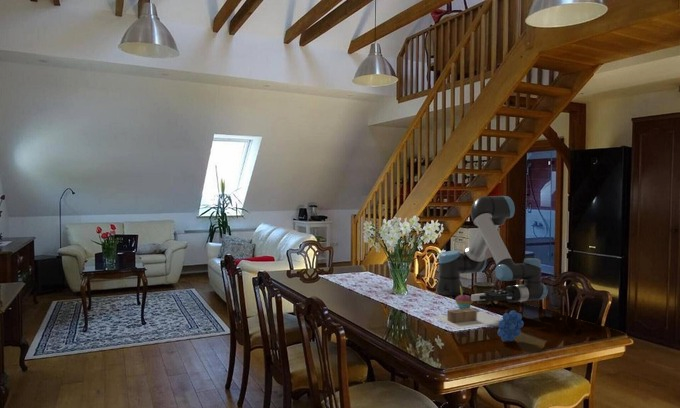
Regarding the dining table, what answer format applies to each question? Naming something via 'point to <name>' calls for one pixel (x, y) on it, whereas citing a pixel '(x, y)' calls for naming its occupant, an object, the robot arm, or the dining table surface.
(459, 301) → the cupcake
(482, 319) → the felt mat
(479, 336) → the dining table surface
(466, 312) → the walnut block
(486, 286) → the ceramic cup
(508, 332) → the grapes
